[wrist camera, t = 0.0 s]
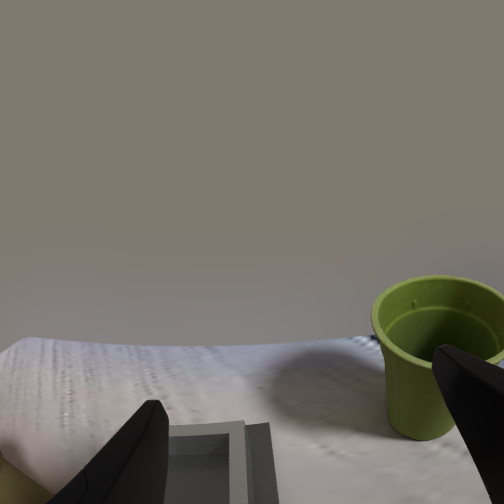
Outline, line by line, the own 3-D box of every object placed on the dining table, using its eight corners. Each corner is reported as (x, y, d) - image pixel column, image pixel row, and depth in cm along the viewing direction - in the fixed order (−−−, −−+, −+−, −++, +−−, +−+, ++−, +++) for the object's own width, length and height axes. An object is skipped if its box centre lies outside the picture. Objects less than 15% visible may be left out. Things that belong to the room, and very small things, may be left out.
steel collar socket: (286, 564, 12) (282, 556, 11) (100, 552, 12) (74, 538, 11) (269, 426, 25) (264, 401, 24) (128, 433, 25) (114, 411, 24)
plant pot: (336, 411, 26) (337, 312, 22) (419, 355, 30) (432, 263, 26) (421, 490, 15) (470, 399, 11) (499, 406, 19) (539, 306, 15)
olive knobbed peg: (13, 502, 14) (-62, 428, 11) (54, 484, 18) (-16, 405, 14) (30, 549, 10) (-63, 479, 6) (77, 529, 14) (-10, 457, 10)
